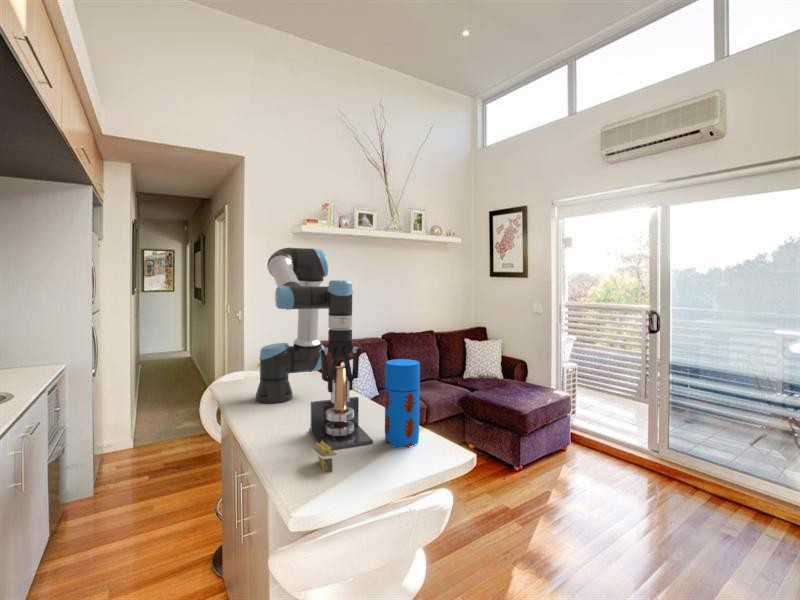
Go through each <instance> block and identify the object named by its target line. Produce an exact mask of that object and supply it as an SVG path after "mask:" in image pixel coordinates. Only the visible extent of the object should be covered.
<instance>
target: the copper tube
mask: <svg viewBox="0 0 800 600" xmlns="http://www.w3.org/2000/svg"><path fill="white" fill-rule="evenodd" d="M346 372H347V367H345V365H344V366H343V365H342V366H341V365H338V366H337V365H336V368H335V373H334V378H333V381H334V382H335V403H334V413H336V414H341V413H346V380H347V375H346ZM334 427H335V428H342V427H346V421H342V422H335V421H334Z"/></svg>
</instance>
